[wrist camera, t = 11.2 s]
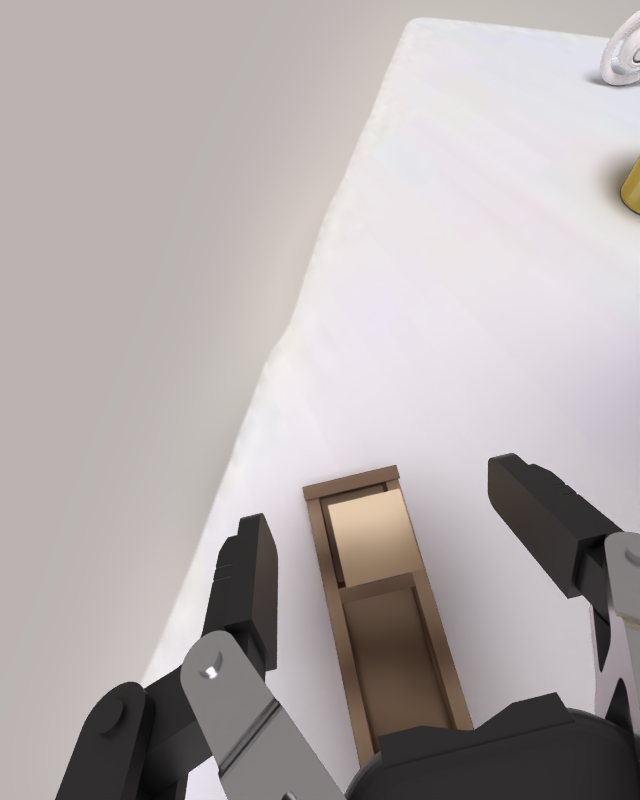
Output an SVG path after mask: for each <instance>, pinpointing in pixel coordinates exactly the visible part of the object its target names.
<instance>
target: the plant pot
mask: <svg viewBox="0 0 640 800" xmlns="http://www.w3.org/2000/svg"><path fill="white" fill-rule="evenodd" d="M621 197H622V200H623V201H624V203H625V204H626V205H627V206H628V207H629V208H630V209H632V210H633V211H635V212H637V213H639V214H640V156H639V158H638V160H637V162H636V163H635V165H634V167H633V169H632V170H631V172H630V174H629V176H628V177H627V179H626V181H625V183H624V184H623V186H622V188H621Z"/></svg>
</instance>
